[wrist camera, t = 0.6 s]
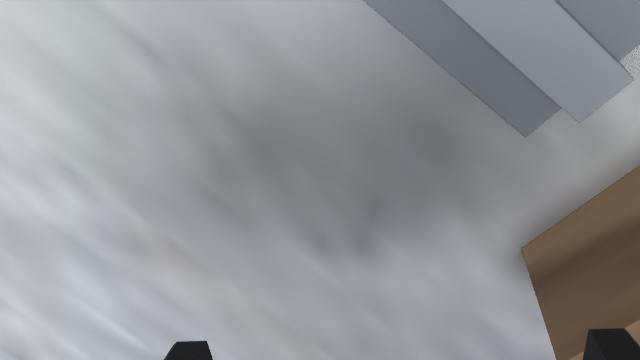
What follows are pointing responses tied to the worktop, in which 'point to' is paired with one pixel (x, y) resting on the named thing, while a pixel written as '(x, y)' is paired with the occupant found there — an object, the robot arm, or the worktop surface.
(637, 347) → the robot arm
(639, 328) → the batten
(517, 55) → the fulcrum
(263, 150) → the worktop surface
